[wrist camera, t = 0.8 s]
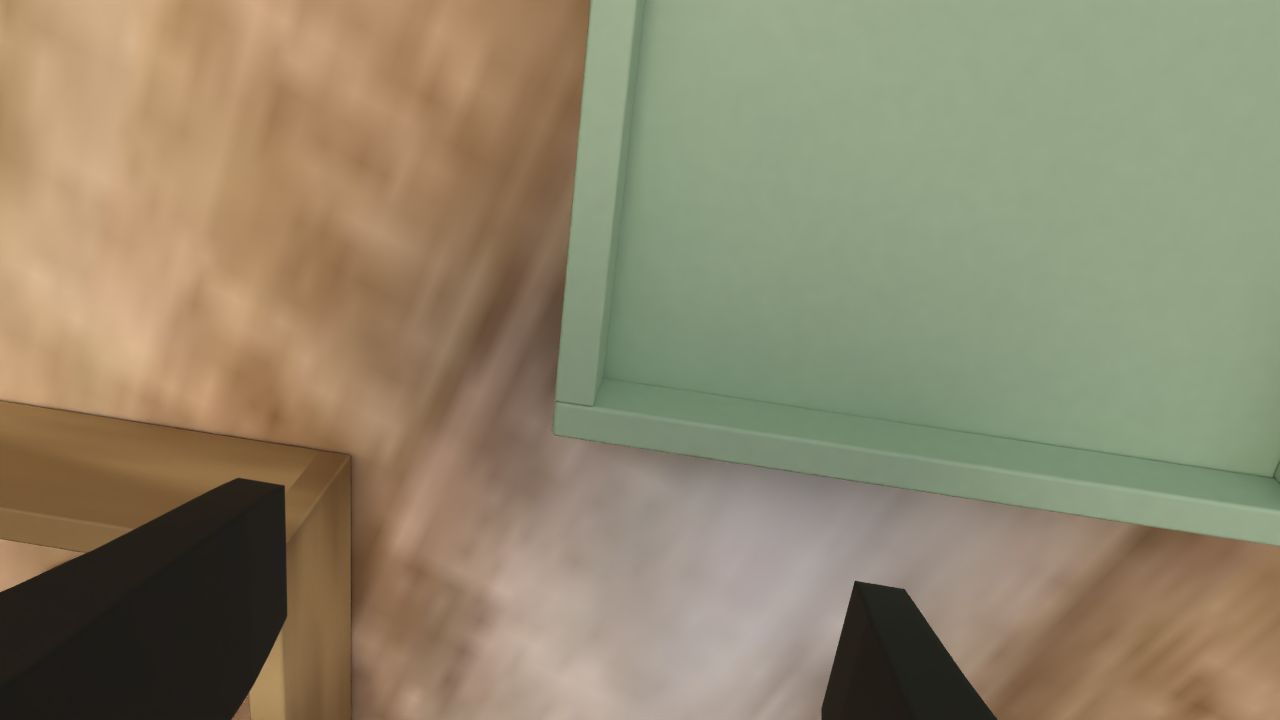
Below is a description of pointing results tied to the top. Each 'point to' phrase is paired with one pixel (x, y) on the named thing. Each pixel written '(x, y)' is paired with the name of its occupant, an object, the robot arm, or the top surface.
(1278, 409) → the tray
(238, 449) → the open wooden box
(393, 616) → the top surface
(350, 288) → the top surface
